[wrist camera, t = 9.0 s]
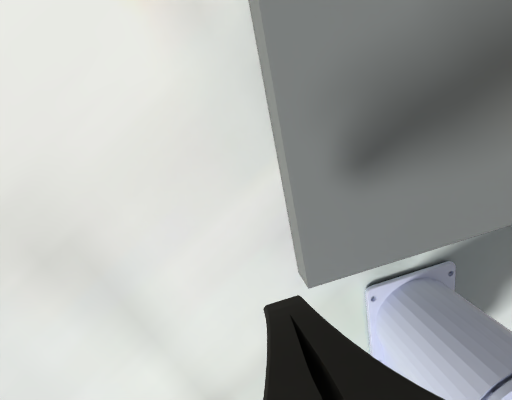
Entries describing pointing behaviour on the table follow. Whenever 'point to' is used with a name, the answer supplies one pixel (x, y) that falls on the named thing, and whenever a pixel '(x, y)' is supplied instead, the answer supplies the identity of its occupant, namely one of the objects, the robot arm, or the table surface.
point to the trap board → (387, 125)
